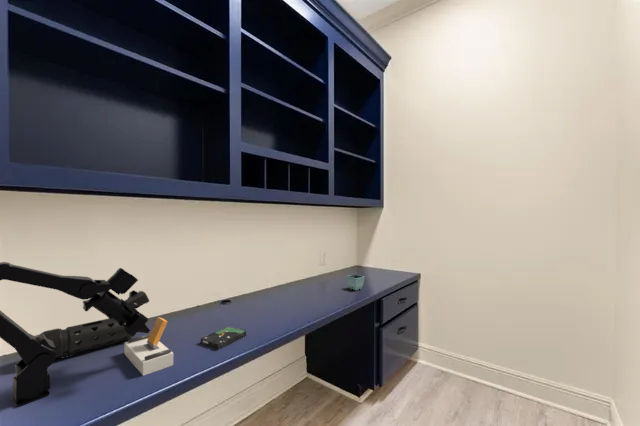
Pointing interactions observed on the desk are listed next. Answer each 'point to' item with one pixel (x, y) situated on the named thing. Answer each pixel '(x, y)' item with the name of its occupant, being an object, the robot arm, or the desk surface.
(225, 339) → the disk drive
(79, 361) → the desk surface
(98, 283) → the robot arm
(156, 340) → the lever
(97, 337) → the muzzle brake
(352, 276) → the flower pot
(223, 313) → the desk surface
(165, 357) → the block
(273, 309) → the desk surface
